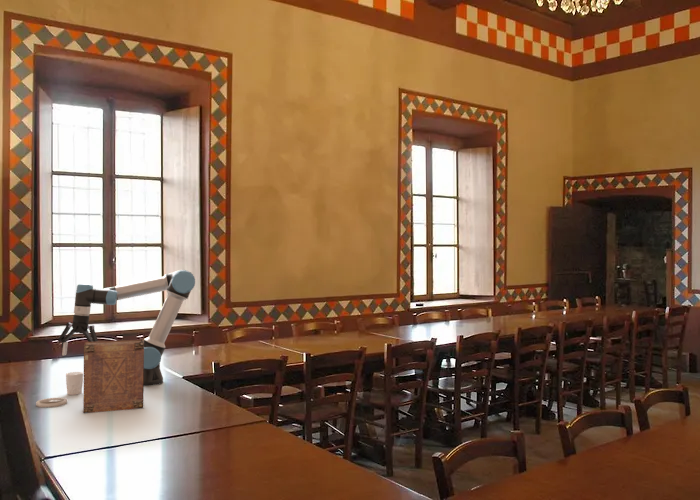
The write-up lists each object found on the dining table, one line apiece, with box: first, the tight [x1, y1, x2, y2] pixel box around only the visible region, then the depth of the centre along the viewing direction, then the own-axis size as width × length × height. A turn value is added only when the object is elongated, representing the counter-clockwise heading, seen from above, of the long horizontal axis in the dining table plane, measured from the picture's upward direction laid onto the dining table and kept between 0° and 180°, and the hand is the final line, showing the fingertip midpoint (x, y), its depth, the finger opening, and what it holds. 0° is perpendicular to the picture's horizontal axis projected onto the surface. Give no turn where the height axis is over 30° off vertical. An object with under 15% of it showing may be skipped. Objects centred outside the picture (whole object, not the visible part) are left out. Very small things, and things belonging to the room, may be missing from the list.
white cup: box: [65, 371, 84, 396], centre depth 315 cm, size 8×8×10 cm
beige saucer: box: [35, 397, 68, 409], centre depth 293 cm, size 13×13×2 cm
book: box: [82, 339, 145, 414], centre depth 285 cm, size 25×9×30 cm, turn 111°
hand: (76, 356), depth 317 cm, fingers open, 13 cm apart
